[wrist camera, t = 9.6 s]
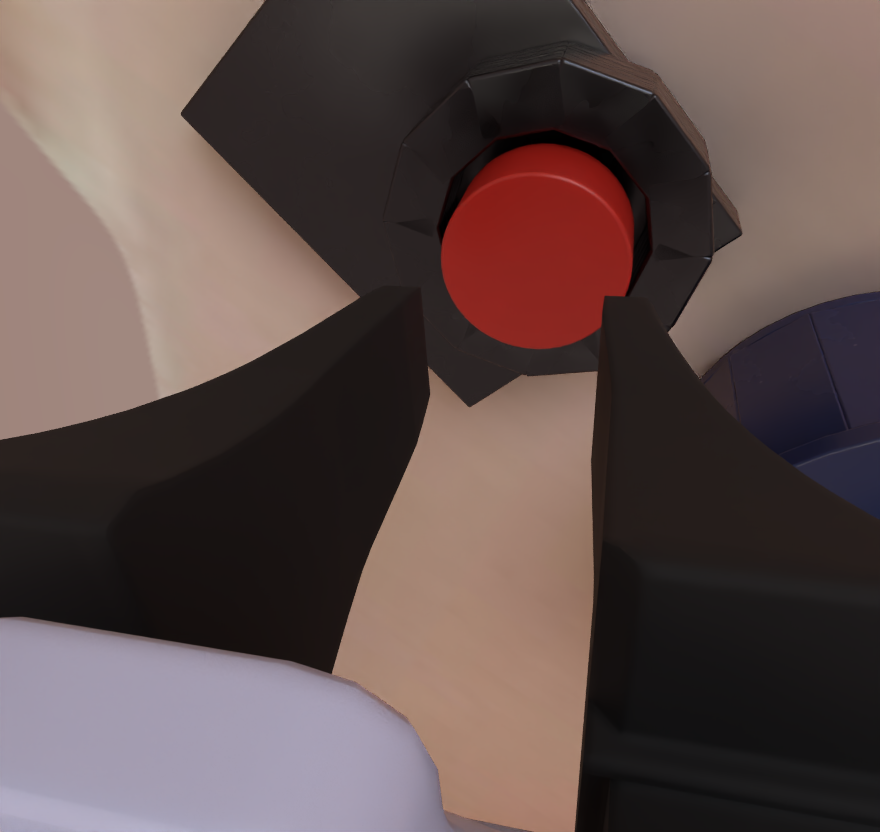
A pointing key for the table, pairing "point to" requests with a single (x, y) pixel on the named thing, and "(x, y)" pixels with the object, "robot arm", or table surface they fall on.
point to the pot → (805, 374)
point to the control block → (454, 148)
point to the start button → (539, 246)
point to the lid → (844, 465)
